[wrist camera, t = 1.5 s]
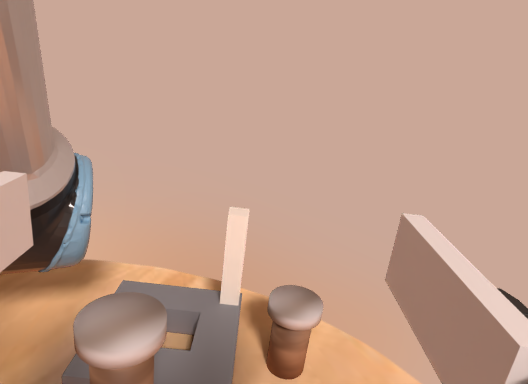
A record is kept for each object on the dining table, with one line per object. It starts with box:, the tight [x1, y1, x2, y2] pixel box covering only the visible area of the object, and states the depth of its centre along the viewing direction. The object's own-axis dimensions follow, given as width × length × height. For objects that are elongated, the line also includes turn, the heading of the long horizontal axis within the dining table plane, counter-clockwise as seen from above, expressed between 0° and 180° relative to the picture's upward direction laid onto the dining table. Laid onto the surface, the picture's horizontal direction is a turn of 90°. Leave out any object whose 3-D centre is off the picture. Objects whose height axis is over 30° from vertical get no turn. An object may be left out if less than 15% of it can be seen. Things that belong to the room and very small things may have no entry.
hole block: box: [62, 207, 250, 384], centre depth 42 cm, size 16×16×16 cm
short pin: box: [267, 285, 323, 379], centre depth 44 cm, size 6×6×9 cm
